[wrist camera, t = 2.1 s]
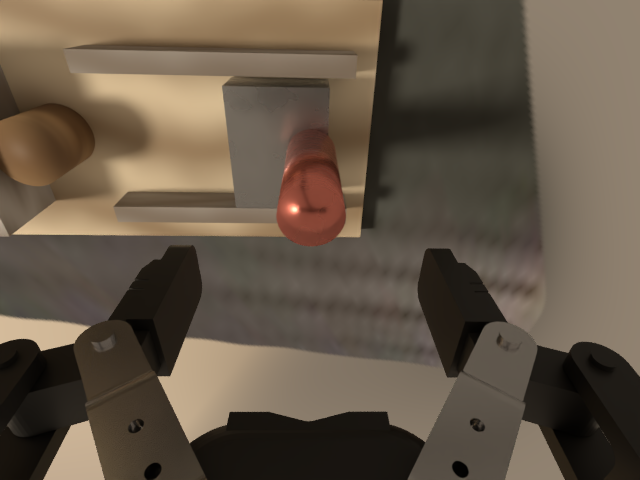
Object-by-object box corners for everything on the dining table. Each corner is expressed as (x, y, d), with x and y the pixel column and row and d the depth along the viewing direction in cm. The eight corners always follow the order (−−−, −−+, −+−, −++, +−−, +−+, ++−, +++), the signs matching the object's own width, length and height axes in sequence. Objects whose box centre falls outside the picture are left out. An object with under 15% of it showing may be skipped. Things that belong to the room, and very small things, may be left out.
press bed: (-104, -13, 21) (-240, -18, 16) (379, 0, 22) (400, -1, 17) (15, 226, 30) (-48, 273, 25) (358, 229, 31) (368, 275, 25)
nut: (20, 102, 24) (-29, 118, 20) (84, 103, 24) (46, 120, 20) (44, 162, 26) (4, 185, 22) (102, 162, 26) (71, 186, 22)
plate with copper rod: (231, 77, 23) (177, 126, 14) (335, 79, 23) (352, 129, 14) (243, 188, 27) (207, 284, 18) (331, 189, 27) (341, 285, 18)
